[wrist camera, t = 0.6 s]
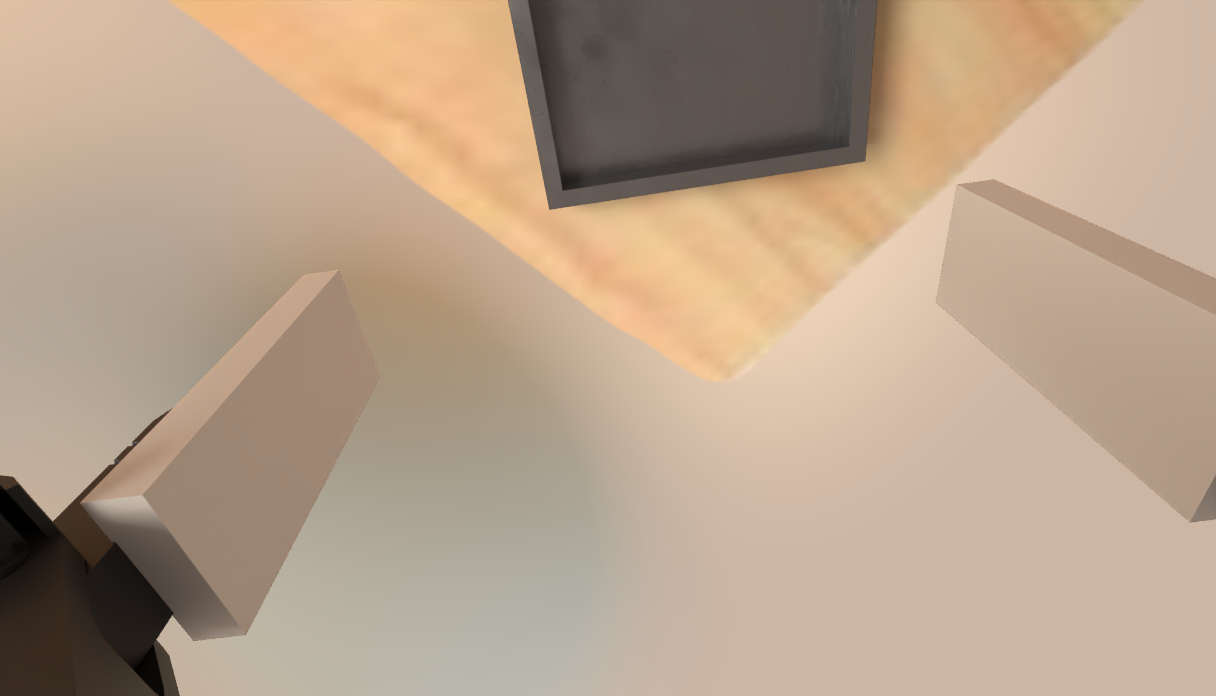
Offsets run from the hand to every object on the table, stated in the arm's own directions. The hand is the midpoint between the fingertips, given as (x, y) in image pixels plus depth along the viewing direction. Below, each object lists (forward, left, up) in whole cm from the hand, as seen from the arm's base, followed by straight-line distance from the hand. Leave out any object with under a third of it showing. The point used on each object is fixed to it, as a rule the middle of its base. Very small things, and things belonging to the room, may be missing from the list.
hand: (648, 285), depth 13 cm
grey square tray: (-5, +5, -27) cm, 28 cm away
